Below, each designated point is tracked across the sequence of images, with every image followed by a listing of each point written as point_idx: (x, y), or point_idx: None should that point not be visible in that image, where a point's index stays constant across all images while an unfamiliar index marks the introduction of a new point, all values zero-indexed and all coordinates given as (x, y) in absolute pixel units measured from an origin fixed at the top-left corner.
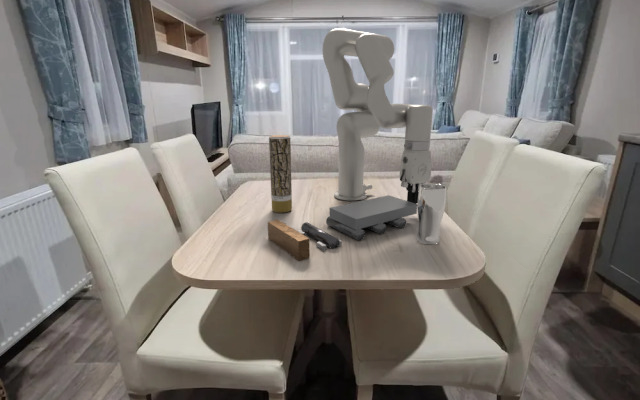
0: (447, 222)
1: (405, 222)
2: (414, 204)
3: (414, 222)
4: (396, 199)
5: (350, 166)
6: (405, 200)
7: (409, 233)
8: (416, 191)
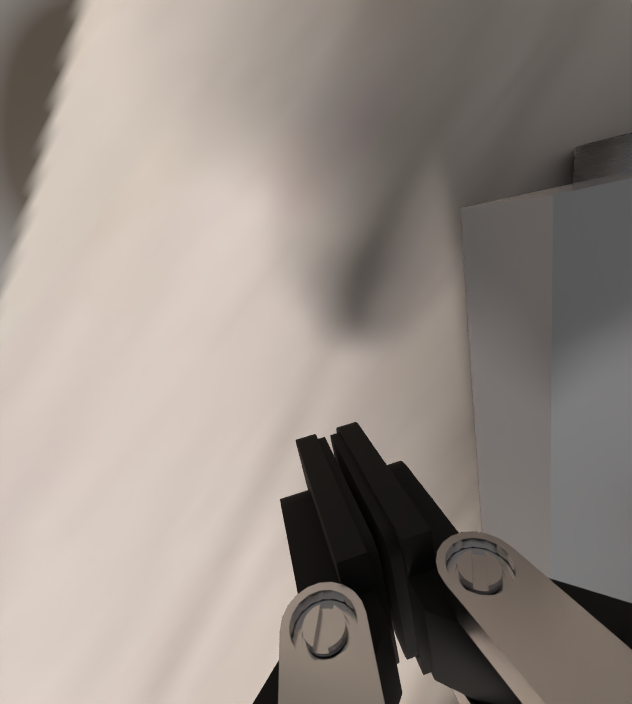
0: (85, 66)
1: (604, 140)
2: (597, 200)
3: (410, 229)
4: (601, 482)
5: None
6: (552, 415)
7: (624, 10)
8: (367, 581)
